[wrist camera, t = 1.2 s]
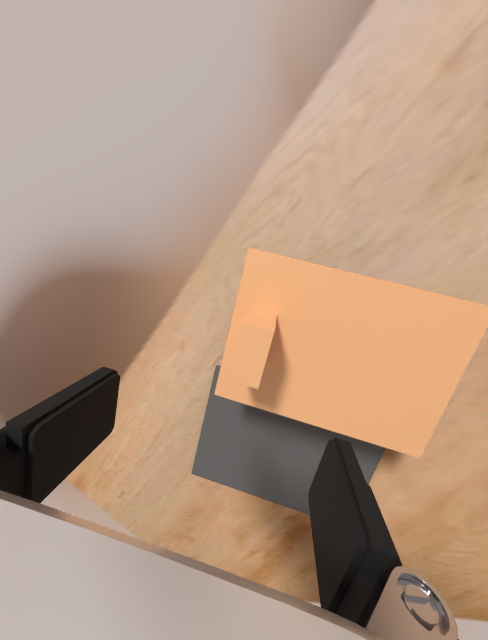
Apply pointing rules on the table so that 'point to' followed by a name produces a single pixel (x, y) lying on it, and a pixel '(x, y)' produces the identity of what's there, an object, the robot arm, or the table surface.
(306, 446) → the mat
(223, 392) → the lid
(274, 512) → the table surface
